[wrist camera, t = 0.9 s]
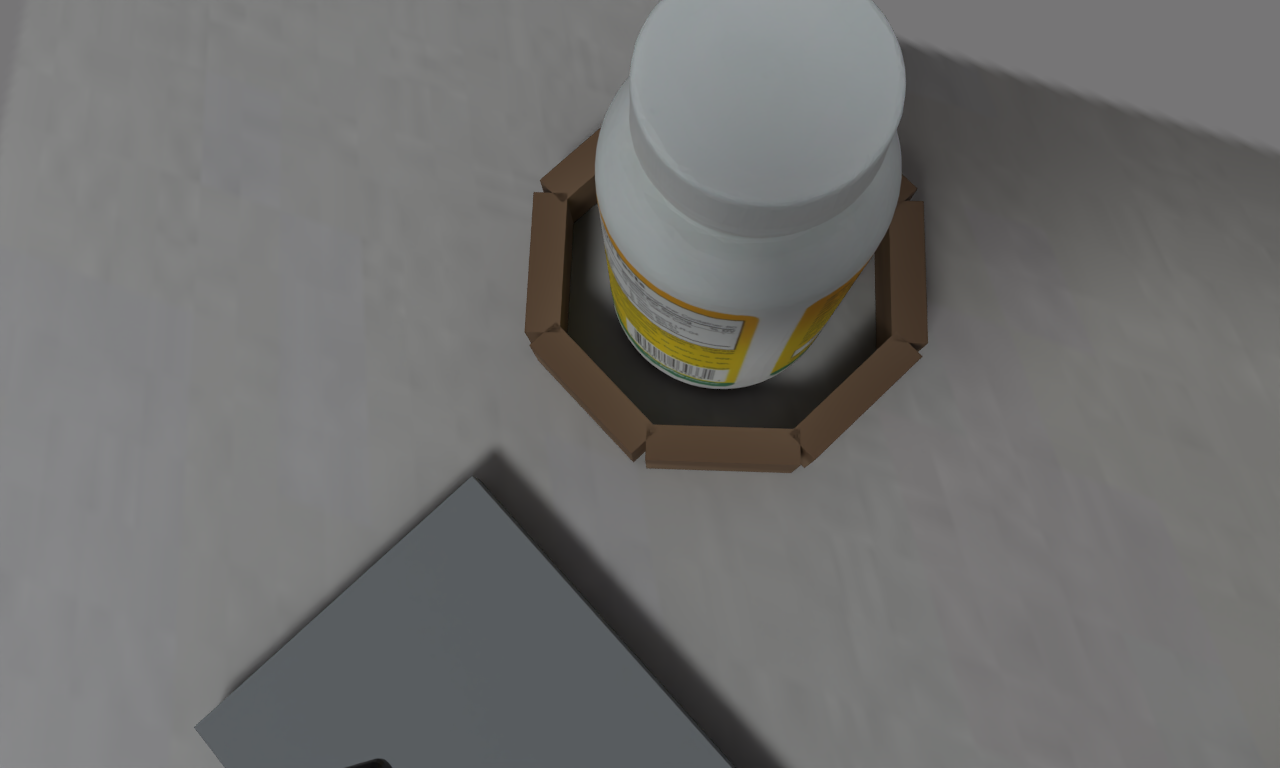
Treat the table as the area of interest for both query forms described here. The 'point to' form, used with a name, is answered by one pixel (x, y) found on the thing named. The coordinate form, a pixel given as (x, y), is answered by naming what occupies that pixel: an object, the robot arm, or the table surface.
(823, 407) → the collar
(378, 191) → the table surface
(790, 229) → the supplement bottle
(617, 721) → the mat
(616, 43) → the table surface
